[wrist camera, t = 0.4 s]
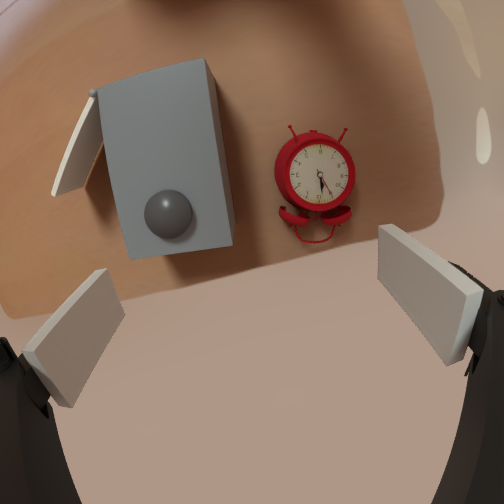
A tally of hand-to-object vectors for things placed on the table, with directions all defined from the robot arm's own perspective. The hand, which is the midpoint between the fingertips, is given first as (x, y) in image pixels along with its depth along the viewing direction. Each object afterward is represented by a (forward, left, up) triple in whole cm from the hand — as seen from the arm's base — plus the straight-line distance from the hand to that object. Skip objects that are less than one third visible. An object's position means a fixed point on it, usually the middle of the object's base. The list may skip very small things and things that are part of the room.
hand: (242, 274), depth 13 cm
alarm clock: (+1, +9, -26) cm, 28 cm away
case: (-5, -8, -26) cm, 28 cm away
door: (-11, -19, -25) cm, 34 cm away
